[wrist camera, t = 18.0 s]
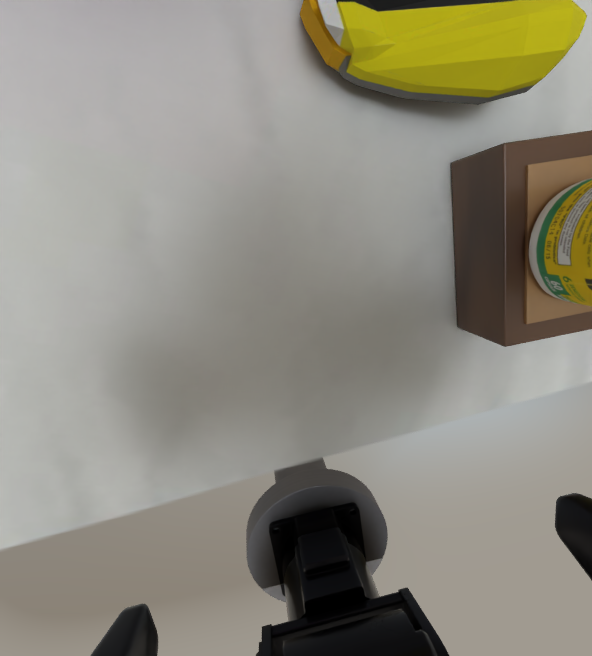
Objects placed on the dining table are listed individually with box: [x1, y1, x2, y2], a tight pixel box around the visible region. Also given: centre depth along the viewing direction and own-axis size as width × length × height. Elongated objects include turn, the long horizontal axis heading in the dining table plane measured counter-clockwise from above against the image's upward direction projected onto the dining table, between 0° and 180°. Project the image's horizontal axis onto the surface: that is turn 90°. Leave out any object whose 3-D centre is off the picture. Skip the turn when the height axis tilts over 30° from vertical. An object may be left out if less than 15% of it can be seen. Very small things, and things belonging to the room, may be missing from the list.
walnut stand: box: [451, 130, 592, 347], centre depth 18 cm, size 9×7×4 cm
